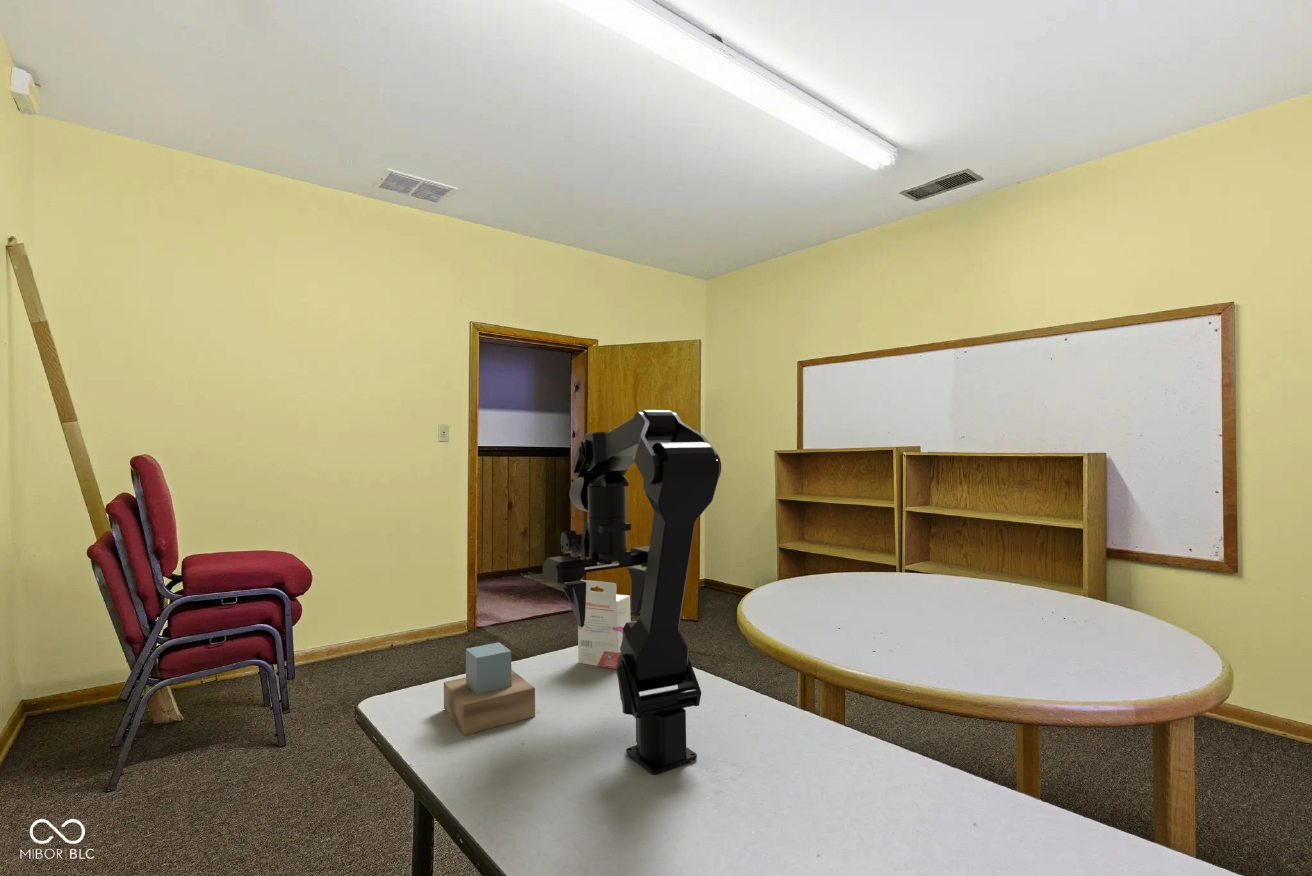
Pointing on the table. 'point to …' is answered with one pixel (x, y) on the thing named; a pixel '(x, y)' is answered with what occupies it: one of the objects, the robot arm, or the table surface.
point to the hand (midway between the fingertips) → (608, 621)
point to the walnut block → (488, 704)
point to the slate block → (488, 668)
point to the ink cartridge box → (603, 625)
